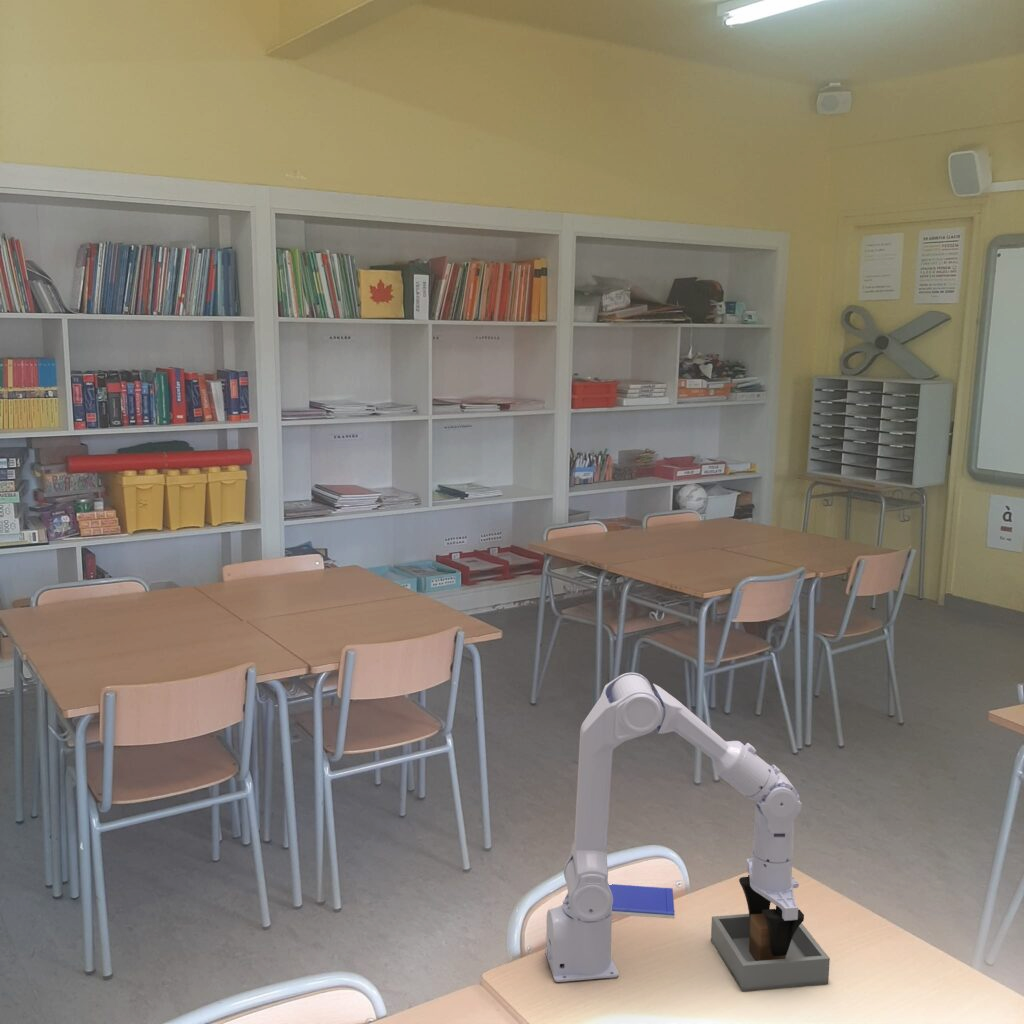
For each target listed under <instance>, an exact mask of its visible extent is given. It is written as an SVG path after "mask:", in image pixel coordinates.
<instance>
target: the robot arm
mask: <svg viewBox="0 0 1024 1024" xmlns="http://www.w3.org/2000/svg"><path fill="white" fill-rule="evenodd" d="M652 685H653V687H654V690H653V687H652ZM652 685H651V683H650V681H649V680H648V679H647V677H645V676H644V675H642V674H641V673H637V672H626V673H623V674H621V675H619V676H617V677H616V678H615V679H613V680H611V681H610V682H608V683H606V684H605V686H604V688H603V689H602V692H601V695H600V697H599V699H598V700H597V702H596V703H595V704H594V705H593V707H592V709H591V710H590V711H589V713H588V714H587V716H586V717H585V719H584V720H583V722H582V723H581V726H580V730H579V744H578V745H579V747H578V748H579V749H578V762H577V763H578V766H577V782H576V802H575V803H576V804H575V805H576V806H575V821H574V823H575V824H574V839H573V843H571V851H570V855H569V857H568V859H567V860H566V862H565V865H564V868H563V876H564V879H565V883H566V888H567V894H566V895H565V897H564V899H563V901H562V904H561V905H559V906H557V907H553V908H549V909H547V912H546V913H547V914H546V935H545V936H546V942H545V943H546V945H545V946H546V949H545V955H546V959H547V962H548V965H549V967H550V971H551V974H552V976H553V981H554V982H557V983H564V982H572V981H573V982H575V981H585V980H586V981H587V980H588V981H589V980H595V979H597V980H598V979H608V978H609V979H611V978H617V977H619V971H618V968H617V966H616V964H615V962H614V960H613V957H612V919H613V918H612V915H613V914H612V905H613V895H612V892H611V890H610V888H609V884H610V883H609V879H608V877H609V870H608V869H609V867H608V855H607V851H608V833H609V820H610V819H609V817H610V801H611V797H610V796H611V782H612V766H613V765H612V763H613V751H614V750H615V749H616V748H617V747H618V746H620V745H621V744H623V743H624V742H626V741H629V740H633V739H635V738H639V737H642V736H644V735H648V734H650V733H652V732H654V731H655V730H656V732H657V734H660V735H663V734H666V733H667V734H668V733H672V732H674V733H675V734H678V736H680V737H681V738H683V739H684V740H686V741H687V742H688V743H690V744H691V745H693V746H694V747H695V748H696V749H698V750H700V752H702V753H704V754H705V755H706V756H707V757H709V758H710V759H712V761H713V769H714V772H715V774H717V775H718V777H720V778H721V779H723V780H724V781H725V782H726V783H727V784H729V785H731V787H732V788H734V789H735V790H736V791H738V792H739V793H741V794H742V795H743V796H744V797H746V798H747V799H749V800H751V801H755V802H756V804H755V805H754V822H753V834H752V835H753V837H752V858H746V862H745V863H746V868H745V871H746V872H747V873H748V875H747V876H742V877H740V878H739V879H738V882H739V884H740V886H741V888H742V890H743V893H744V897H745V899H746V906H747V910H748V914H749V916H750V919H751V914H763V915H764V917H765V919H766V922H767V926H768V931H769V941H770V950H771V954H772V955H773V956H784V955H786V954H787V952H788V949H789V946H790V943H791V940H792V937H793V935H794V933H795V931H796V929H797V928H798V927H799V925H800V924H801V923H802V924H803V922H804V920H805V914H804V913H803V912H802V911H801V909H799V906H798V905H797V903H796V898H795V892H794V889H798V888H799V884H800V883H799V881H798V880H797V879H796V878H795V877H794V876H792V875H793V859H794V858H793V856H794V839H795V837H794V836H795V819H796V818H797V817H798V815H799V814H800V812H801V810H802V806H803V803H802V802H801V800H800V795H799V792H798V791H797V789H796V788H795V787H794V785H793V784H792V783H791V781H790V779H788V777H787V776H786V775H785V774H784V773H783V772H782V770H781V769H780V768H779V767H778V766H776V765H775V764H772V765H770V764H769V763H767V762H766V761H765V760H764V759H763V758H761V757H760V756H758V755H757V754H756V752H757V750H756V748H755V747H754V746H753V745H752V744H750V743H749V742H746V743H745V745H744V743H742V742H741V741H739V740H730V741H729V740H727V741H726V740H724V739H723V738H722V736H720V735H719V734H718V733H716V732H715V731H714V730H713V729H712V728H711V727H710V726H709V725H707V724H706V723H705V722H704V721H702V720H701V719H700V718H699V717H698V716H697V715H696V714H695V713H693V712H692V711H691V710H690V709H689V708H687V706H686V705H684V704H683V703H681V702H680V700H678V699H677V698H675V696H673V695H671V694H670V693H669V692H667V691H666V690H664V689H663V687H661V686H659V685H657V684H655V683H653V684H652ZM771 903H772V904H773V905H774V906H775V908H770V907H771Z"/></svg>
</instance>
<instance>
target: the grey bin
mask: <svg viewBox="0 0 1024 1024" xmlns="http://www.w3.org/2000/svg"><path fill="white" fill-rule="evenodd" d="M710 941H711V943H712V945H713V947H714V948H715V950H716V952H717V953H718V955H719V957H720V959H721V960H722V961H723V963H724V964H725V966H726V967H727V969H728V971H729V973H730V975H731V976H732V978H733V980H734V981H735V983H736V984H737V986H738V987H739V989H740V990H741V992H745V993H746V992H755V991H765V990H776V989H790V988H798V987H801V988H802V987H811V986H820V985H821V986H822V985H823V986H824V985H829V980H830V979H829V977H830V962H831V961H830V960H831V959H830V957H829V955H828V954H827V953H826V952H825V951H824V949H823V948H822V946H821V945H820V944H819V943H818V942H817V940H816V938H814V937H813V935H812V934H811V933H810V931H809V930H808V928H807V927H806V926H805V925H804V924H803V922H802V923H801V924H800V925H799V927H798V928H797V929H796V931H795V933H794V935H793V937H792V940H791V943H790V946H789V949H788V952H787V954H786V959H776V960H764V961H755V960H754V958H753V957H752V955H751V954H750V952H749V942H750V916H749V913H742V914H727V915H716V916H715V915H714V916H711V933H710Z"/></svg>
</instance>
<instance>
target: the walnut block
mask: <svg viewBox="0 0 1024 1024" xmlns="http://www.w3.org/2000/svg"><path fill="white" fill-rule="evenodd" d="M749 952H750V954H751V955H752V957H753V958H754V960H755V961H764V960H776V959H786V955H784V956H773V955H772V954H771V950H770V941H769V931H768V926H767V922H766V919H765V917H764V915H763V914H751V919H750V942H749Z"/></svg>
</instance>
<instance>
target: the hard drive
mask: <svg viewBox="0 0 1024 1024" xmlns="http://www.w3.org/2000/svg"><path fill="white" fill-rule="evenodd" d="M611 884H612V885H609V888H610V890H611V892H612V895H613V905H612V915H618V916H630V917H631V916H632V917H647V918H648V917H649V918H659V919H661V918H663V919H675V904H674V890H673V888H672V887H657V886H643V885H632V884H629V885H628V884H619V883H618V884H616V883H611Z"/></svg>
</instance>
